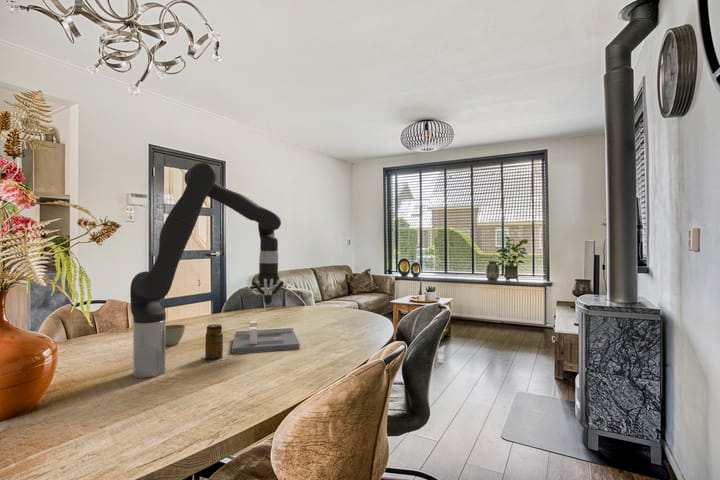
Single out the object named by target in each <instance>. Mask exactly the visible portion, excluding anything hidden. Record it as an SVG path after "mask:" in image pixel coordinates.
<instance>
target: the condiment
mask: <svg viewBox="0 0 720 480" xmlns="http://www.w3.org/2000/svg"><path fill="white" fill-rule="evenodd" d="M222 328H223V327H222V324H217V323H216V324H208V325H207V326H206V333H205V346H204V347H205V351H204V352H205V355H202V356H200V358H202V360H204V361H205V362H207V363H214V362H219V361H225V360H228V359H229V358H228V357H226V356H225V355H223V350H224V343H223V342H224V334H223V329H222Z"/></svg>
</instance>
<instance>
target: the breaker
mask: <svg viewBox="0 0 720 480" xmlns="http://www.w3.org/2000/svg"><path fill="white" fill-rule="evenodd" d="M250 327H257V328H258V321H257V320H250V321H249V328H250Z"/></svg>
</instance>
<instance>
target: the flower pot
mask: <svg viewBox="0 0 720 480" xmlns="http://www.w3.org/2000/svg"><path fill="white" fill-rule="evenodd" d="M185 328H186V326H185V325H184V324H168V325H167V324H166V335H165V346H175V345H178V344H179V343H180V342H181V340H182V339H183V335H184V334H185Z"/></svg>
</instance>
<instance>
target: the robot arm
mask: <svg viewBox="0 0 720 480" xmlns="http://www.w3.org/2000/svg"><path fill="white" fill-rule="evenodd" d="M183 178H184V183H185V185H186V186H185V189H184V190H183V193H182V194H181V197H180V198H179V199H177V200H178V201H177V202H176V203H175V205H174V206H173V208H172V209H171V210H170V212H169V214H168V215H167V217H166V219H165V221H164V223H163V225H162V227H161V229H160V232H159V237H158V238H159V239H158V240H159V242H158V243H159V244H158V254H157V257H156V259H155V261H154V264H153V266H152V267H151V269H150V271H141V272H138V273H137V274H136V275H135V276H134V277H133V279H132V280H131V283H130V291H129V292H130V295H129V296H130V311H131V314H132V317H133V331H132V332H133V337H132V338H133V342H132V344H133V347H132V349H133V352H132V354H133V355H132V357H133V358H132V359H133V361H132V363H133V364H132V366H133V367H132V371H133V373H132V376H134V378H135V379H141V378H153V377H157V376H159V375H161V374H163V373H165V371H166V345H165V335H166V325H167V321H166V318H167V316H166V315H167V313H166V311H165V309H164V308H163V307H162V304H161V301H160V300H163V299H164V298H165V297H166V296H167V295H168V294H169V292H170V291H171V287H172V285H173V281H174V278H175V275H176V271H177V269H178V265H179V264H180V263H179V262H180V261H181V259H182V256H183V254H184V251H185V249H186V246H187V245H188V242H189V240H190V238H191V236H192V235H193V234H192V233H193V231H194V229H195V227H196V224H197V221H198V218H199V216H200V213H201V210H202V207H203V205H204V202H205V201H206V199H207V198H209V199H210V198H211V199H212V200H214V201H217V202H219V203H221V204H223V206H226V207H228V208H230V209H231V210H233V211H235V212H236V213H238V214H239V215H240V216H242V217H244V218H246V219H247V220H250V221H253V222H256V223H258V224H257V225H258V226H257V227H258V233H259V234H258V235H259V238H260V243H259V245H260V246H259V247H260V248H259V249H260V251H259V257H258V258H259V260H258V261H259V265H258V269H259V270H258V276H257V279H256V280H253V281H252V285H253V286H254V287H255V289H257V291H258V292H259V293H260V294H261V295H264V299H263V300H264V301H263V302H264V304H265V305H270V304H271V303H272V295H275V294H277V292H278V291H279V290H280V289H281V287H282V286H283V285H284V280H281V279H280V277H279V254H278V253H279V251H278V250H279V249H278V248H279V247H278V245H279V241H278V238H277V237H276V235H275V231H277V230H279V229H280V227H281V224H282V220H281V218H280V217H279V215H278V214H276V213H275V212H273V211H271V210H269V209H267V208H265V207H263V206H261V205H259V204H257V203H256V202H254V201H253V200H251V199H250V198H249V197H247V196H245V195H243V194H240V193H238V192H236V191H233V190H231V189H228V188H226V187H224V186H222V185H220V184H219V183H218V182H217V181H216V180H217V172H216V169H215V168H214V167H213V166H212V165H211V164H210V163H207V162H200V163H196V164H194V165H193V166H191V167H190V168H189V169H188V170H187V171H186V172H185V174H184V177H183ZM260 284H261V286H262V287H263V289H262V288H261V286H259V285H260ZM276 284H277V285H276ZM275 285H276V286H275ZM274 286H275V288H274V289H273V287H274Z"/></svg>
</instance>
